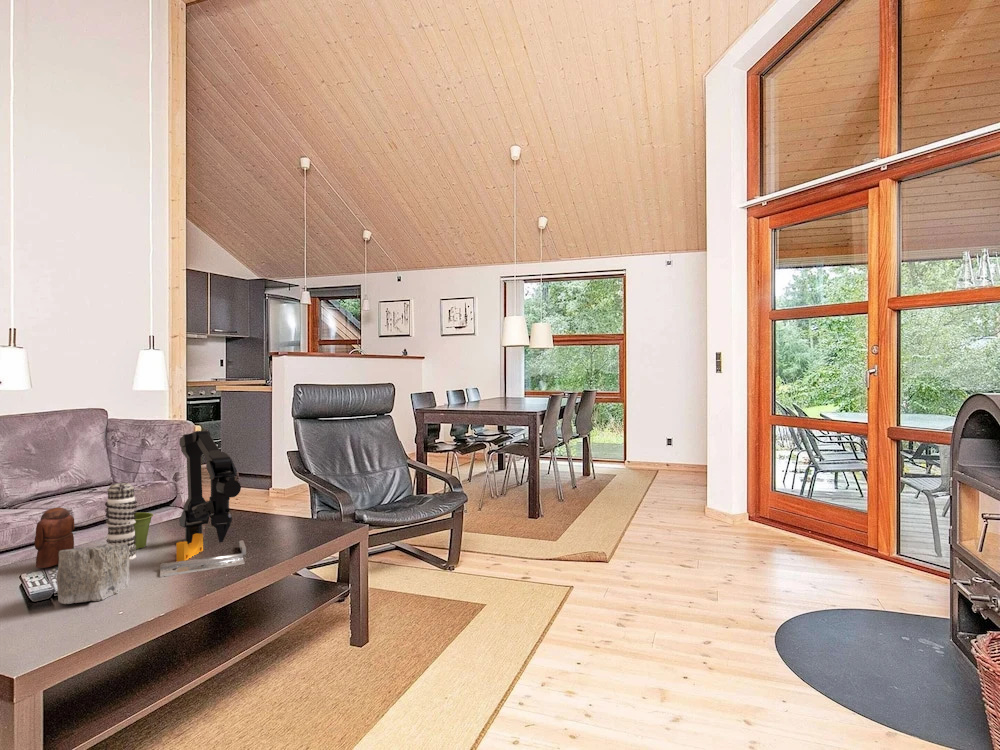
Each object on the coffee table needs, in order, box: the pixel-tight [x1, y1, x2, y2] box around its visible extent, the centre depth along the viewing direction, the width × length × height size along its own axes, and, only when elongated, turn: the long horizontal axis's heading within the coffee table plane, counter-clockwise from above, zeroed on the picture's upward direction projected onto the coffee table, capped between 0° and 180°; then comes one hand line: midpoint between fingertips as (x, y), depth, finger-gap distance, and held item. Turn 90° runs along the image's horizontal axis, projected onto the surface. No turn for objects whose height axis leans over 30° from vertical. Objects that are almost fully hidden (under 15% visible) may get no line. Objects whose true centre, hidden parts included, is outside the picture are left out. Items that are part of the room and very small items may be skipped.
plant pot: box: [134, 512, 154, 551], centre depth 219 cm, size 12×12×11 cm
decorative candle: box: [104, 482, 138, 561], centre depth 206 cm, size 9×9×25 cm
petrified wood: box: [56, 543, 131, 605], centre depth 174 cm, size 19×17×15 cm
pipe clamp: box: [175, 533, 204, 562], centre depth 208 cm, size 12×4×6 cm, turn 178°
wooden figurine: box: [34, 507, 76, 569], centre depth 201 cm, size 12×6×18 cm, turn 176°
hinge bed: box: [159, 539, 247, 578], centre depth 202 cm, size 20×25×3 cm
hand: (220, 539), depth 209 cm, fingers open, 9 cm apart
